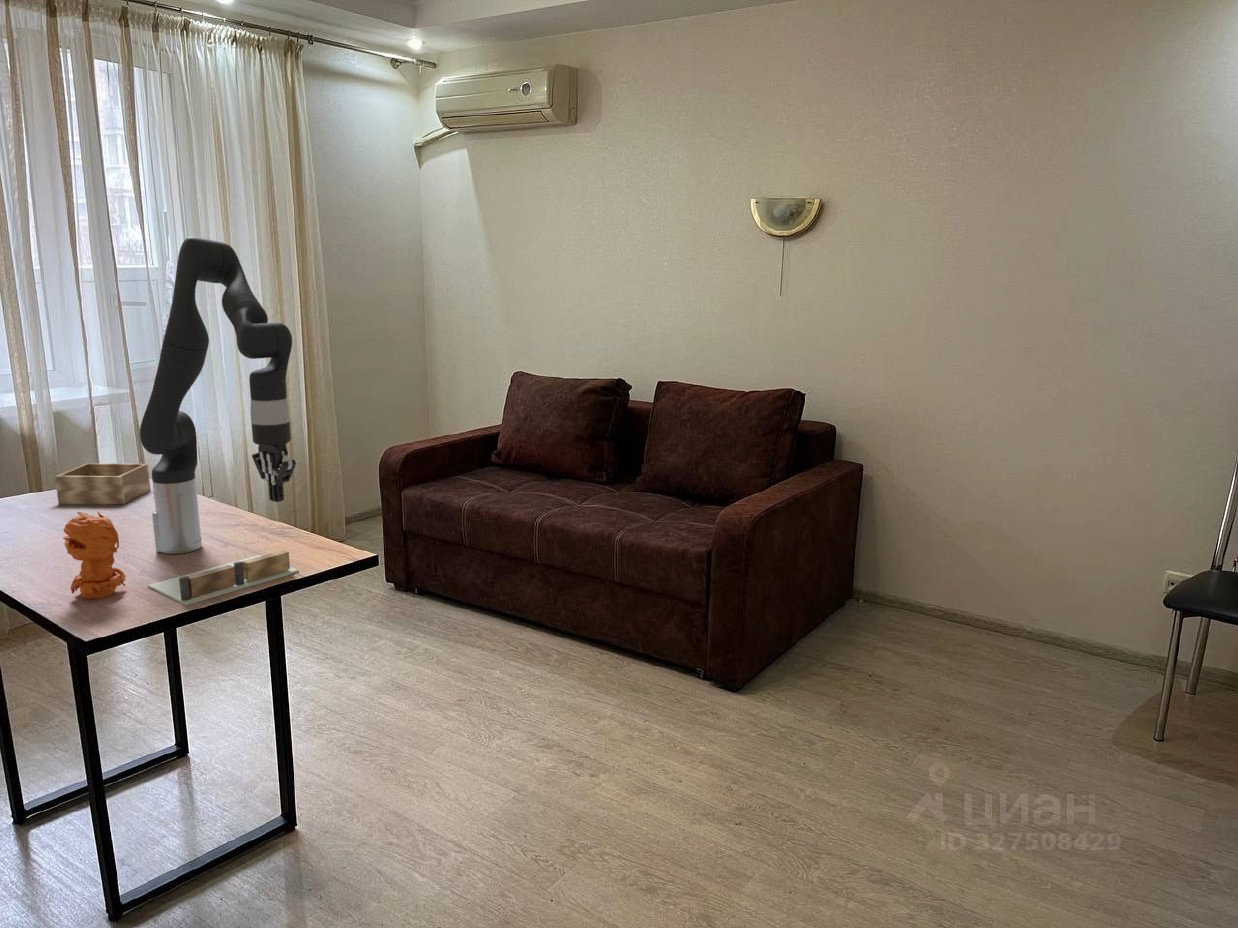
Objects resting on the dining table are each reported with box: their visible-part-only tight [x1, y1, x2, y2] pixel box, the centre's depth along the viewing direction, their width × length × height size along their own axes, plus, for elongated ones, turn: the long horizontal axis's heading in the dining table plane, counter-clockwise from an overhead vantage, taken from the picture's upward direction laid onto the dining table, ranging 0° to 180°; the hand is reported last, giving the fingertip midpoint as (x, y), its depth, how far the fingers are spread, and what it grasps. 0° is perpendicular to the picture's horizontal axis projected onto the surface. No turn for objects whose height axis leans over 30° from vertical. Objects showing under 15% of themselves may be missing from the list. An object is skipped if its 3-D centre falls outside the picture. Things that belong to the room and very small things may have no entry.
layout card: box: [147, 554, 300, 606], centre depth 203 cm, size 26×16×1 cm, turn 142°
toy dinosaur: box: [62, 511, 126, 600], centre depth 192 cm, size 11×11×18 cm
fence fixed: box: [179, 560, 244, 601], centre depth 194 cm, size 14×2×5 cm, turn 142°
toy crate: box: [54, 462, 152, 505], centre depth 266 cm, size 18×16×8 cm
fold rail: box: [242, 549, 291, 581], centre depth 204 cm, size 10×2×4 cm, turn 142°
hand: (276, 500), depth 196 cm, fingers closed
